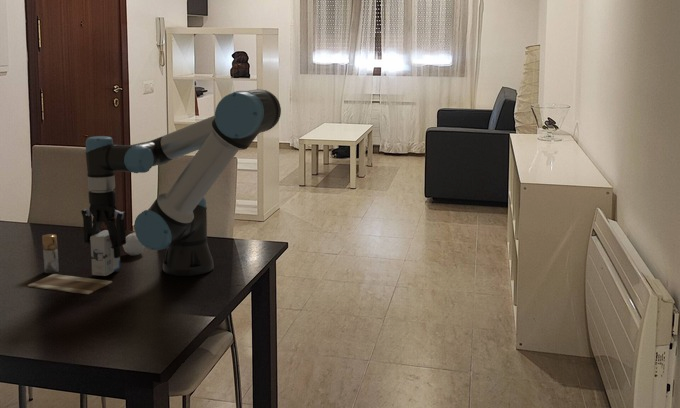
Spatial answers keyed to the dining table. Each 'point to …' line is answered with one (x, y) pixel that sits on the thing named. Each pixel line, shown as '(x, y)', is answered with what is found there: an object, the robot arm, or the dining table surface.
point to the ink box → (101, 254)
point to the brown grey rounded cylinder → (50, 253)
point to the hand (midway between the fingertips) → (106, 267)
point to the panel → (70, 284)
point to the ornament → (133, 245)
